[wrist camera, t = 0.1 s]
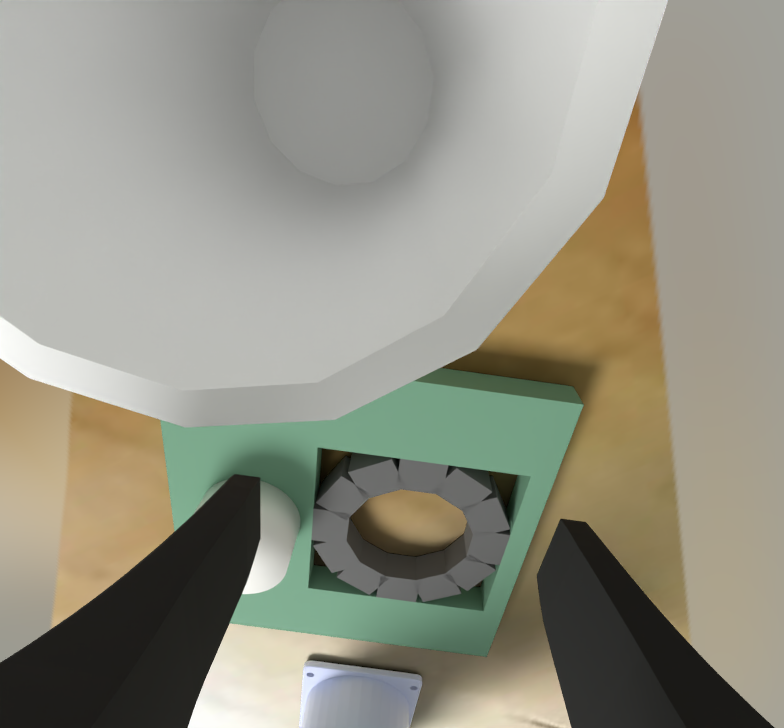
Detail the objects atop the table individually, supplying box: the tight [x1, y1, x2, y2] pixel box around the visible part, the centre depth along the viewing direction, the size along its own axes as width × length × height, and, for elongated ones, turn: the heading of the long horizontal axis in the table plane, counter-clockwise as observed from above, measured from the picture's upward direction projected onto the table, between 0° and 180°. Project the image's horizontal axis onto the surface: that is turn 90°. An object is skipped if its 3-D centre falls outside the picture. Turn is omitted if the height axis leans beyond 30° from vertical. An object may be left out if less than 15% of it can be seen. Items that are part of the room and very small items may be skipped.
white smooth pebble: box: [194, 480, 300, 594], centre depth 22 cm, size 5×5×2 cm
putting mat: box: [160, 368, 584, 657], centre depth 24 cm, size 18×18×2 cm
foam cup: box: [0, 0, 668, 428], centre depth 10 cm, size 10×9×13 cm
